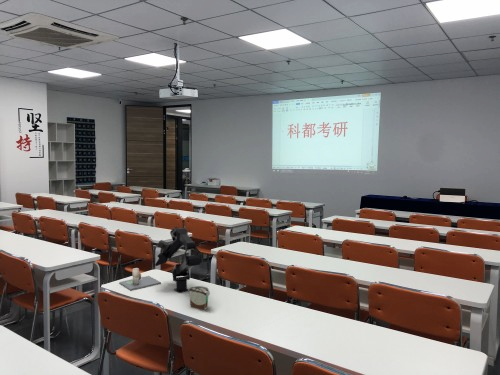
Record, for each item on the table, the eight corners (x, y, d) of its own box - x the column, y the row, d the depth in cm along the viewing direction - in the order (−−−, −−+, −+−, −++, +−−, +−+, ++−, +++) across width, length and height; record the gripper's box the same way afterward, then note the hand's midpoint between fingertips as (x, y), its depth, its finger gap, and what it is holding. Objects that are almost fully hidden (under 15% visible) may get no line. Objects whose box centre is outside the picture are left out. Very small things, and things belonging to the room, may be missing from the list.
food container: (214, 307, 196) (214, 288, 195) (207, 312, 191) (207, 292, 190) (196, 302, 202) (196, 284, 201) (188, 306, 197) (188, 287, 196)
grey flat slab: (160, 283, 231) (160, 282, 231) (130, 290, 219) (130, 289, 218) (148, 277, 243) (148, 275, 243) (119, 283, 231) (119, 281, 231)
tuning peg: (134, 278, 237) (133, 263, 236) (141, 277, 238) (141, 263, 237) (131, 285, 224) (131, 270, 224) (139, 284, 225) (139, 269, 224)
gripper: (170, 232, 232) (152, 250, 234) (160, 239, 214) (141, 258, 215) (183, 246, 232) (165, 263, 234) (175, 253, 214) (155, 272, 215)
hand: (157, 264), depth 225 cm, fingers open, 6 cm apart
